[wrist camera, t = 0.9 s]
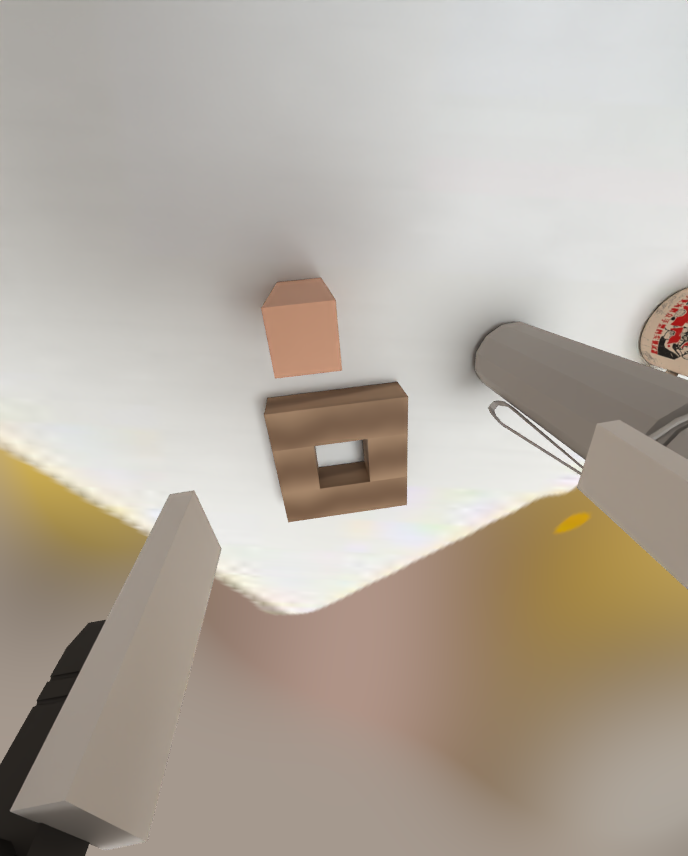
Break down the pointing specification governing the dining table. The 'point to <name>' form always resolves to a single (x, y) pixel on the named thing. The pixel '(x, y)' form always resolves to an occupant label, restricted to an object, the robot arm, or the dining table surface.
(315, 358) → the peg
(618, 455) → the robot arm
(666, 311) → the teacup with lid
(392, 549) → the dining table surface
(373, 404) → the socket block
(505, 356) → the water bottle
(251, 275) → the dining table surface
